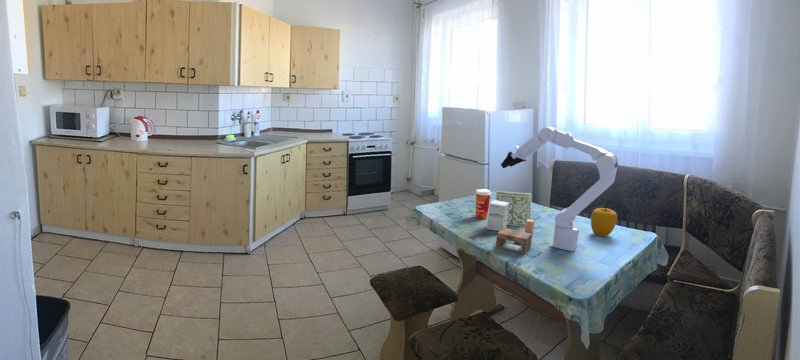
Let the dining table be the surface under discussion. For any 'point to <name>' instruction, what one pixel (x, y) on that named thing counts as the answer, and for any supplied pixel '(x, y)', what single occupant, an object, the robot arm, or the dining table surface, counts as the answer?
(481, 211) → the paper cup
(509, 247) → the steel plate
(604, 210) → the apple
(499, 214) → the supplement box
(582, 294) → the dining table surface
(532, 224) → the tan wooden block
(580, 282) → the dining table surface
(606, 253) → the dining table surface
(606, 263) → the dining table surface
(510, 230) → the walnut shelf
